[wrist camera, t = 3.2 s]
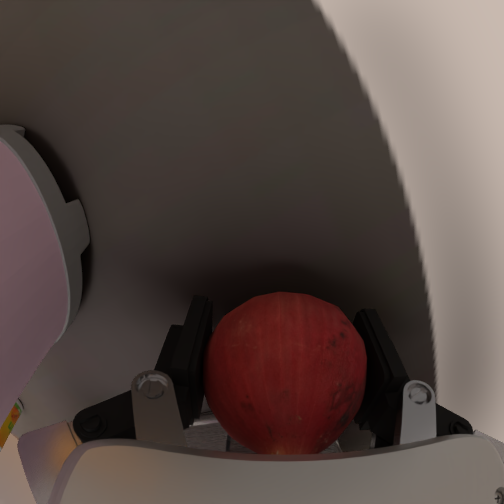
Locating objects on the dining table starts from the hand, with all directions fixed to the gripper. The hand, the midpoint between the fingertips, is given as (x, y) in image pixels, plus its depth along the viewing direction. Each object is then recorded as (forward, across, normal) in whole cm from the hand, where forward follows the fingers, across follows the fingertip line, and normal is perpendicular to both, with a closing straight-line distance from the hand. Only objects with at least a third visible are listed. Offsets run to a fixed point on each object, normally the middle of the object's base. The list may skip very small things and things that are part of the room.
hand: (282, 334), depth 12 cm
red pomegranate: (+2, 0, 0) cm, 2 cm away
